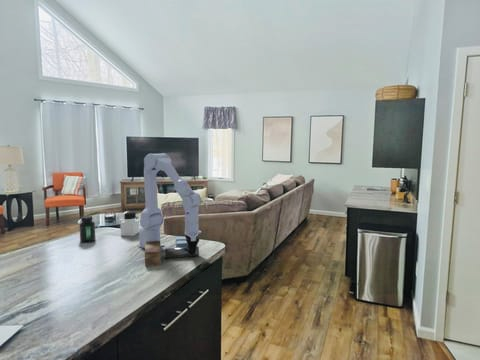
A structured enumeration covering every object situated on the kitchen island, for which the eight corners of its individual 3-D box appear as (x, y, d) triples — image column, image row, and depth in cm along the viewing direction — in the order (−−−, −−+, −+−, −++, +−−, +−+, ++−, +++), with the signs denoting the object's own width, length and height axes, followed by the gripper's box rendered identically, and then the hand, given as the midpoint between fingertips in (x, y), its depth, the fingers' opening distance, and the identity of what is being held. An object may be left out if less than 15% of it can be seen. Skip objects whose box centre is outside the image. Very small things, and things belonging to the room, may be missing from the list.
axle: (165, 259, 133) (165, 250, 133) (165, 256, 137) (165, 247, 136) (198, 257, 137) (198, 248, 136) (197, 253, 140) (197, 245, 140)
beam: (145, 265, 126) (144, 252, 126) (146, 253, 140) (146, 241, 139) (160, 264, 128) (160, 251, 127) (160, 252, 141) (160, 240, 141)
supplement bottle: (91, 242, 154) (90, 218, 152) (77, 242, 153) (76, 218, 152) (97, 238, 160) (96, 215, 159) (84, 238, 160) (83, 215, 159)
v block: (176, 252, 142) (176, 243, 142) (175, 245, 152) (175, 237, 151) (194, 251, 144) (194, 242, 143) (192, 244, 154) (192, 236, 153)
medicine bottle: (139, 232, 172) (138, 210, 171) (133, 236, 165) (133, 213, 164) (126, 231, 173) (126, 210, 171) (120, 235, 166) (119, 213, 164)
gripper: (203, 225, 130) (203, 257, 131) (199, 217, 144) (199, 246, 145) (185, 226, 128) (186, 258, 130) (183, 218, 142) (183, 247, 144)
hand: (192, 252), depth 137 cm, fingers closed on axle, 4 cm apart
